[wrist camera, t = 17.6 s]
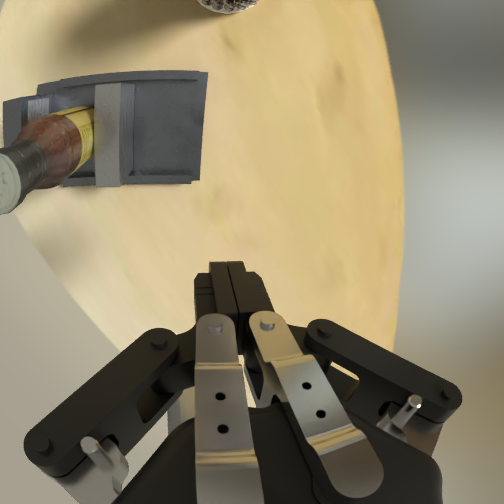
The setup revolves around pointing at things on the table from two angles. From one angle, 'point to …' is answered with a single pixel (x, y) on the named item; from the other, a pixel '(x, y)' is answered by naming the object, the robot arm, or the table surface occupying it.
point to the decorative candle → (228, 5)
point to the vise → (144, 125)
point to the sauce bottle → (45, 154)
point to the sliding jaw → (113, 133)
